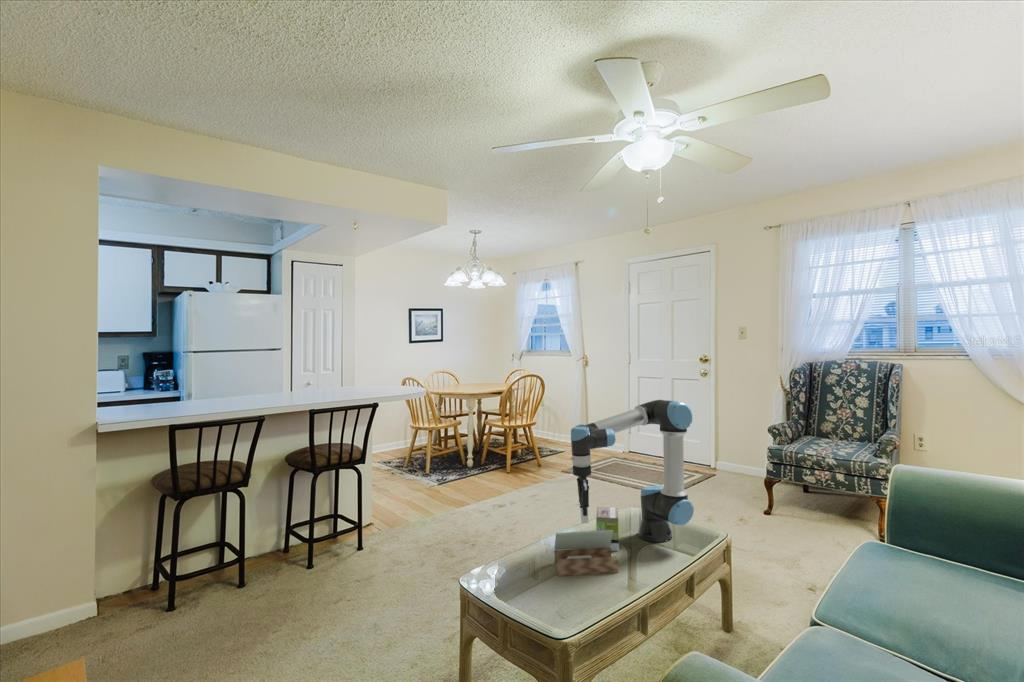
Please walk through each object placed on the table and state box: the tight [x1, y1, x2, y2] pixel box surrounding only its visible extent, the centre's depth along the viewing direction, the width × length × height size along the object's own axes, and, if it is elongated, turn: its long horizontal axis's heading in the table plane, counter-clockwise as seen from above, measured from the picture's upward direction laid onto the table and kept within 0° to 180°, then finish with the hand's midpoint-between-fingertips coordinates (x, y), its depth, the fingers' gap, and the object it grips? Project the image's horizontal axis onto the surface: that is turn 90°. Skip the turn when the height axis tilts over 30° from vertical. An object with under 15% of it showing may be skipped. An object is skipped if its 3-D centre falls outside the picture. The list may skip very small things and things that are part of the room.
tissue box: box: [553, 547, 619, 577], centre depth 196 cm, size 24×12×5 cm, turn 93°
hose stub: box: [566, 555, 592, 559], centre depth 199 cm, size 11×3×3 cm
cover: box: [553, 530, 613, 551], centre depth 199 cm, size 24×12×1 cm
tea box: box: [595, 506, 620, 552], centre depth 219 cm, size 15×10×15 cm, turn 168°
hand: (584, 522), depth 196 cm, fingers closed
